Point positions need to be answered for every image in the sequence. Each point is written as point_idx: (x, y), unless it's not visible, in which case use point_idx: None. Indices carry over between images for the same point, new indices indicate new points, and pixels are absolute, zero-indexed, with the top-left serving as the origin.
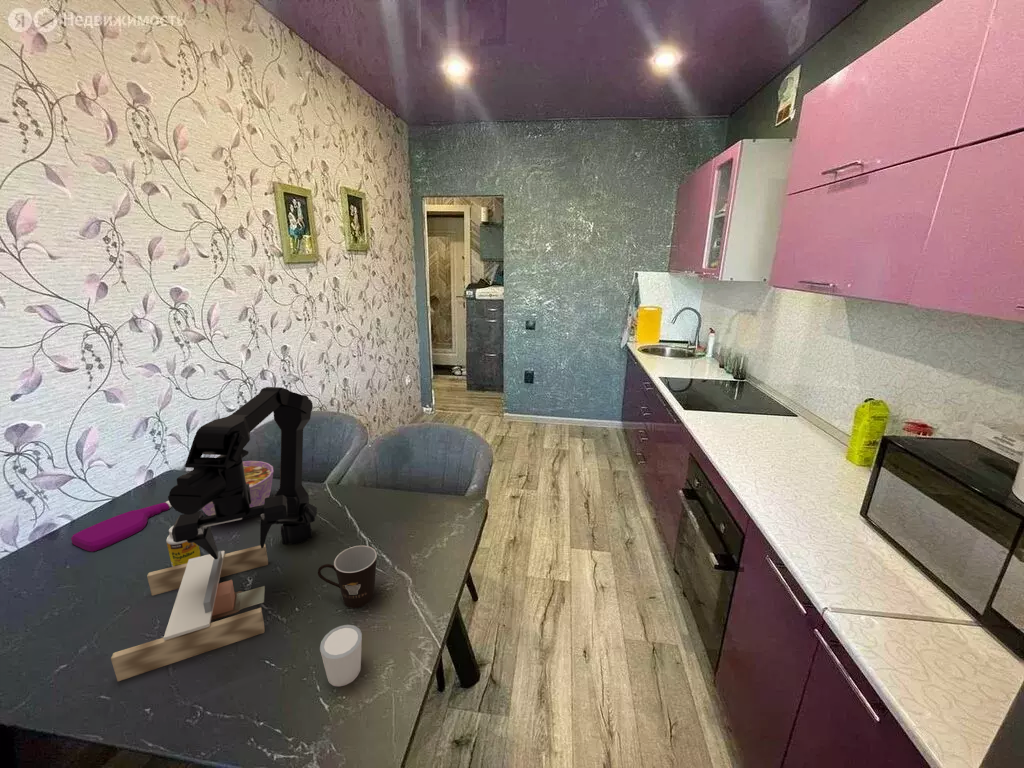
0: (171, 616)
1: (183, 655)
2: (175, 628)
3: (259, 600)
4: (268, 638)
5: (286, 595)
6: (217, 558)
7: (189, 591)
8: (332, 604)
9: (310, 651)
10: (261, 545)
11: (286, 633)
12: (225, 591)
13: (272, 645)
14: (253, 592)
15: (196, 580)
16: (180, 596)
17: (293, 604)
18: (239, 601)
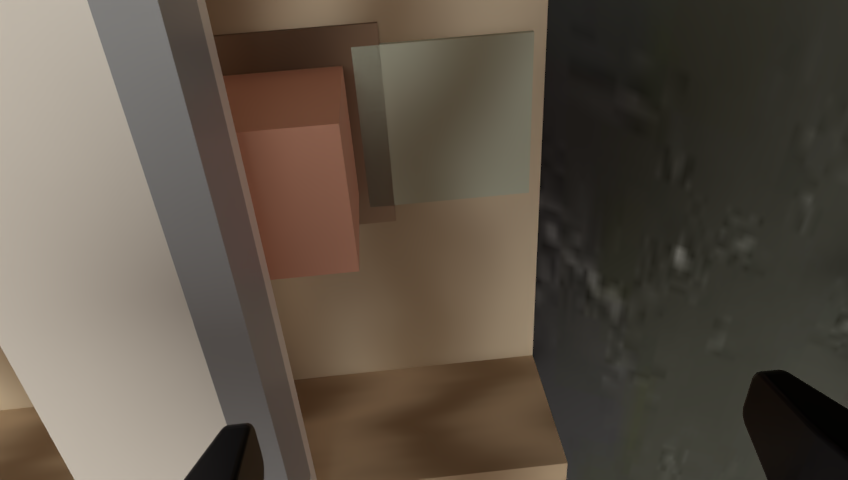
0: (69, 458)
1: None
2: None
3: (504, 170)
4: (540, 375)
5: (646, 135)
6: (263, 475)
7: (54, 278)
8: (837, 282)
9: (679, 461)
10: (775, 476)
11: (612, 372)
12: (322, 246)
13: (554, 408)
14: (462, 80)
15: (32, 151)
16: (8, 307)
17: (669, 220)
18: (383, 134)
